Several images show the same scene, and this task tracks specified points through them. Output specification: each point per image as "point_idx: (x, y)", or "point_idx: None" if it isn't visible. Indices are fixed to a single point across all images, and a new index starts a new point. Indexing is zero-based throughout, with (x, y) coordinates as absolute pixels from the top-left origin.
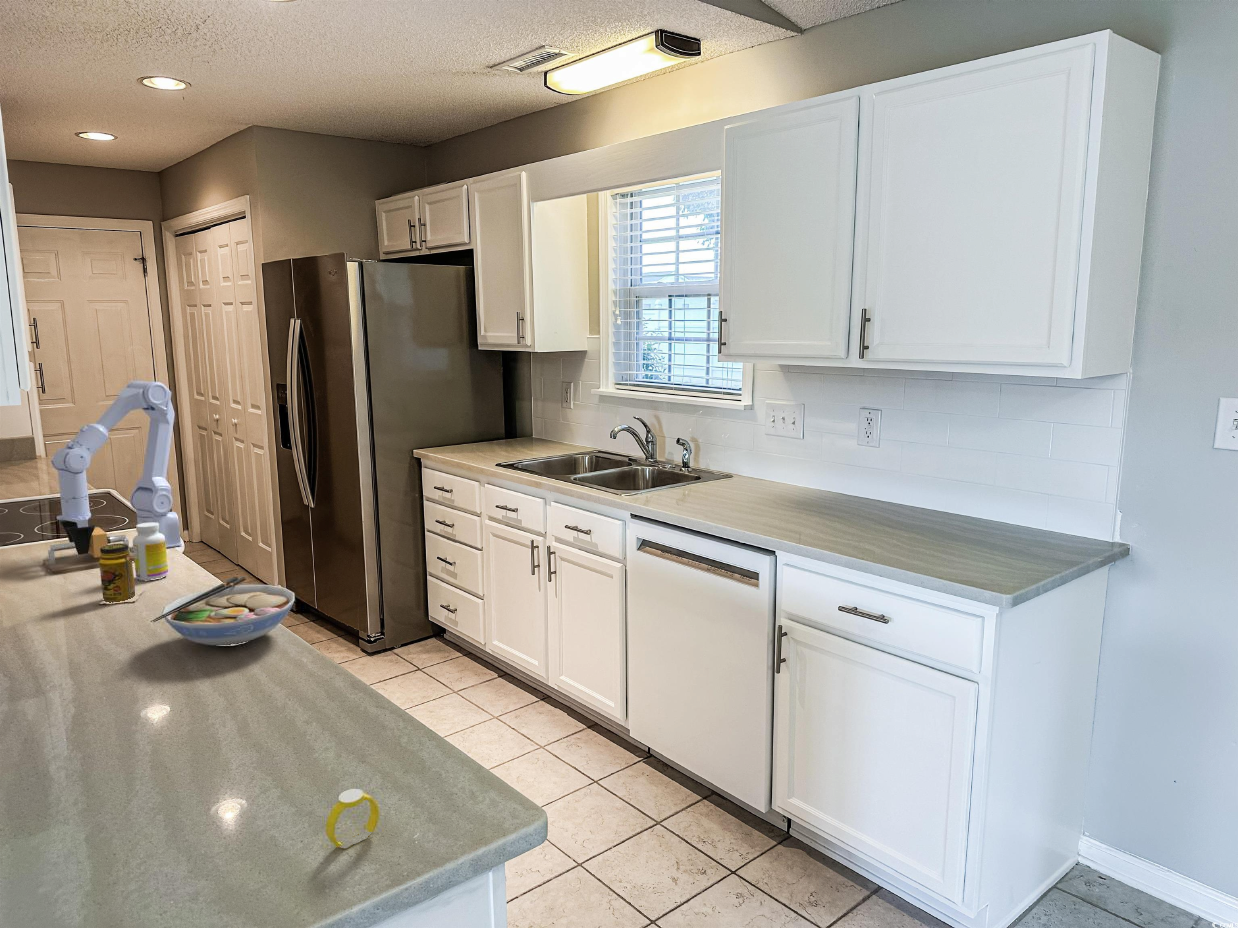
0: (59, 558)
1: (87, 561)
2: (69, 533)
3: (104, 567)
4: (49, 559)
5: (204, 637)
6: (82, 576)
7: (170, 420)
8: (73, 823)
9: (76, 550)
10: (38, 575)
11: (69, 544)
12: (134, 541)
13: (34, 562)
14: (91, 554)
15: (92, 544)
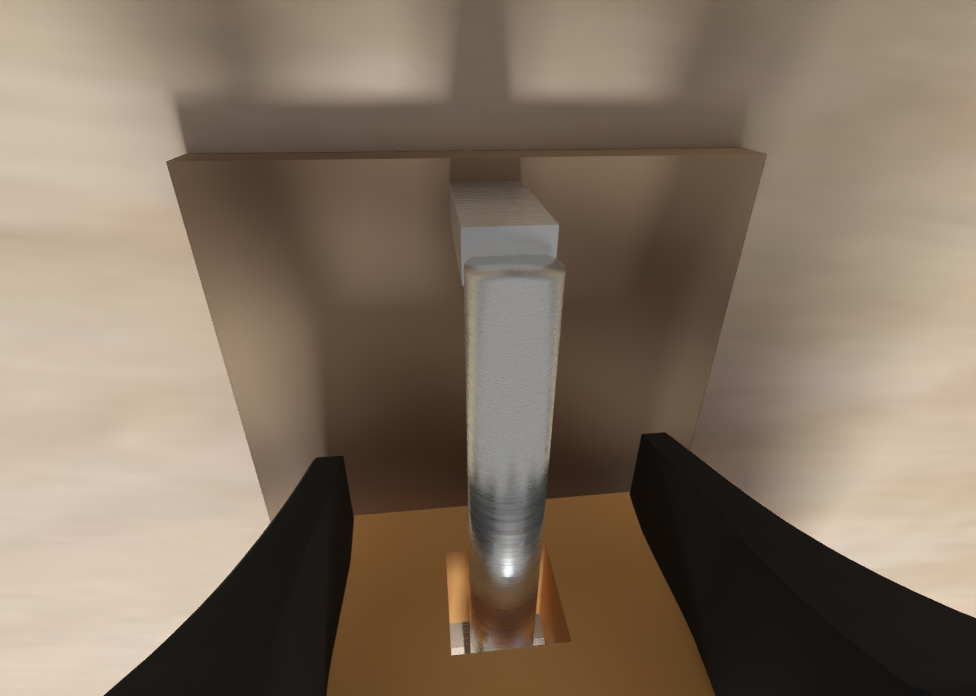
0: (680, 288)
1: (398, 448)
2: (739, 563)
3: None
4: (483, 195)
5: None
6: (10, 362)
7: None
8: None
9: (332, 478)
10: (259, 17)
11: (474, 472)
12: None
13: (864, 82)
14: (454, 507)
15: (352, 620)
